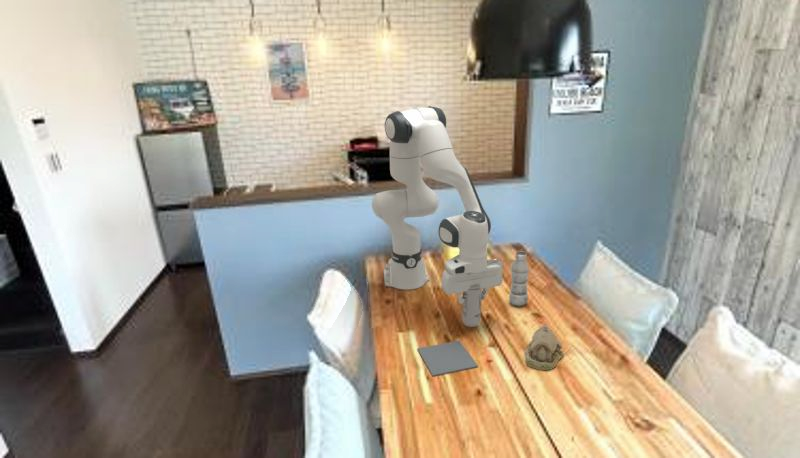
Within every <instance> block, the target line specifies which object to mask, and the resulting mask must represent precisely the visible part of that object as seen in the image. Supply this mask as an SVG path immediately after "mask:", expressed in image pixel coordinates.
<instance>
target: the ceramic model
mask: <svg viewBox="0 0 800 458" xmlns="http://www.w3.org/2000/svg"><path fill="white" fill-rule="evenodd" d="M562 349H563V343H562V342H561V340H559V339H558V338H557V336H556V334H555V333H554V332H553V331H552V330H551V329H550V328H549V327H548V325H547V324H543V325H542V326H541V327H539V328H538V329H536V331H534V333H533V335H532V338H531V341H530V342H529V343H528V344H527V345H526V347H525V349H524V359H525V362H526V365H527V366H528V367H529V368H531V367H532V368H531V369H536V370H539V371H550V370H552V369H551V368H553V369H554V367H555V366H556V365H557V366H558V363H559V362H560V360H561V359H563V358H564V355H565V352H564V351H563V350H562ZM561 350H562V351H561ZM563 352H564V353H563ZM560 358H561V359H560ZM557 366H556V367H557ZM556 367H555V368H556ZM549 369H550V370H549Z"/></svg>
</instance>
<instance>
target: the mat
mask: <svg viewBox="0 0 800 458" xmlns="http://www.w3.org/2000/svg"><path fill="white" fill-rule="evenodd" d="M416 349H417V351H418V353H419V355H420V357H421V359H422V360H423V362H424V364H425V365H426V368H427V370H428V371H429V373H430V374H431V376H432V377H438V376H443V375H446V374H451V373H452V374H453V373H456V372H462V371H467V370H471V369H476V368H479V364H477V362H476V361H475V360H474V358H473V356H471V354H470V353H469V351H468V350H467V349H466V347H465V346H464V345H463V344H462V342H461V341H460V340H454V341H448V342H444V343H437V344H433V345H428V346H423V347H417V348H416Z"/></svg>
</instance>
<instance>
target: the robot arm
mask: <svg viewBox="0 0 800 458" xmlns="http://www.w3.org/2000/svg"><path fill="white" fill-rule="evenodd" d="M446 127H447V118H446V114H445V112H444V111H443V110H442V109H441V108H440V107H436V106H429V107H413V108H410V109H405V110H404V109H403V110H398V111H396V110H395V111H393V112H392V113H389V114H388V115H387V116H386V118H385V121H384V132H385V135H386V137H387V139H388V140H389V171H390V173H389V174H390V176H391V177H392V179H394V180H395V181H397V182H399V183H401V184H404V185H405V186H406V188H405V189H391V190H390V189H389V190H385V191H380V192H377V193H376V194H375V195H373V197H372V201H371V209H372V212H373V213H374V215H375V216H376V217H378V219H380V220H382V222H384V223H385V224H386V225H387V227H388V229H389V231H390V234H391V241H392V243H391V244H392V250H391V254H390V255H391V257H390V258H389V259H388V261H387V262H388V263H387V264H385V265H384V269H383V280H384V281H383V282H384V286H385V287H392V288H395V289H398V290H408V291H409V290H416V289H418V288H420V287H423V286H424V285H425V283H426V282H428V281H430V276H429V275H428V274H427V270H426V262H425V260H424V259H422V258H423V256H422V255H423V252H422V249H421V232H420V230H419V229H418V228H417V227H416V226H414V225H412V224H410V223H408V222H406V221H405V219H407V218H421V217H422V218H423V217H427V216H430V215H433V214H435V213H436V212H437V210H438V208H439V203H440V199H439V197H438V195H437V193H436V192H435V191H434V190H433V189H431V188H430V187H429V186H428V185H427V184H426V183H425V181H424V179H423V178H422V174H421V167H422V170H423V171H424V173H425V175H427V177H428V178H430V179H432V180H434V181H436V182H439V183H440V182H441V183H445V184H447V185H450V186H452V187H453V188H455V189H456V191H457V192H458V195H459V197H460V199H461V202H462V204H463V207H464V209H465V211H464V212H463V213H461V214H458V215H457V214H456V215H453V216H449V217H446V218H444V219H442V220H440V223H439V226H438V236H439V240H440V241H441V242H442V243H443V244H445V246H447V247H450V248H458V249H459V253H458V254H457V255H455V256H454V257H452V258H449V259H447V260H445V261H444V267H445V269H444V270H443V272H442V276H441V289H442V291H443V292H444V293H445V294H446V295H452V294H456V295H457V297H458V298H457V299H458V302H459V305H461V304H463V303H465V298H463V292H465V291H468V290H469V288H470V286H474V285H479V284H480V285H479V286H480V287H481V288H482V295H481V301H483V300H486V295H487V294H488V292H489V291H490V288H493V287H494V288H495V287H499V286H501V285H502V283H503V281H504V280H503V270H502V269H503V265H504V264H503V261H502V260H501V259H499V258H493V259H488V250H487V249H488V247H487V246H488V243H489V234H490V232H491V228H492V223H491V219H490V217H489V215H488V214H487V211H486V210H485V209H484V206H483V205H482V202H481V200H480V198H479V197H480V196H479V195H478V191H477V189H476V187H475V185H474V183H473V180H472V177H471V175H470V174H469V171H468V169H467V168H466V167H465V166H463V165H462V164H461V163H460V162H459V160H458V158H457V157H456V155H455V152H454V148H453V145H452V142H451V141H452V140H451V139H450V136H449V134H448V131H447V129H446Z"/></svg>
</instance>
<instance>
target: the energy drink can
mask: <svg viewBox="0 0 800 458" xmlns="http://www.w3.org/2000/svg"><path fill="white" fill-rule="evenodd" d="M479 285H480V284H479ZM479 285H474V286H470V288H469V290H468V291H465V292H462V296H463V298H465V303H462V309H461V310H462V311H461V312H462V315H461V321H462V323H463V324H464V325H465V326H467V327H468V328H469V327H470V328H473V327H474V328H475V327H477V326H478V325H479V324H480V322H481V317H482V316H481V311H482V309H481V308H482V300H481V295H482V291H483V289H482V288H481V287H480V286H479Z"/></svg>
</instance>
